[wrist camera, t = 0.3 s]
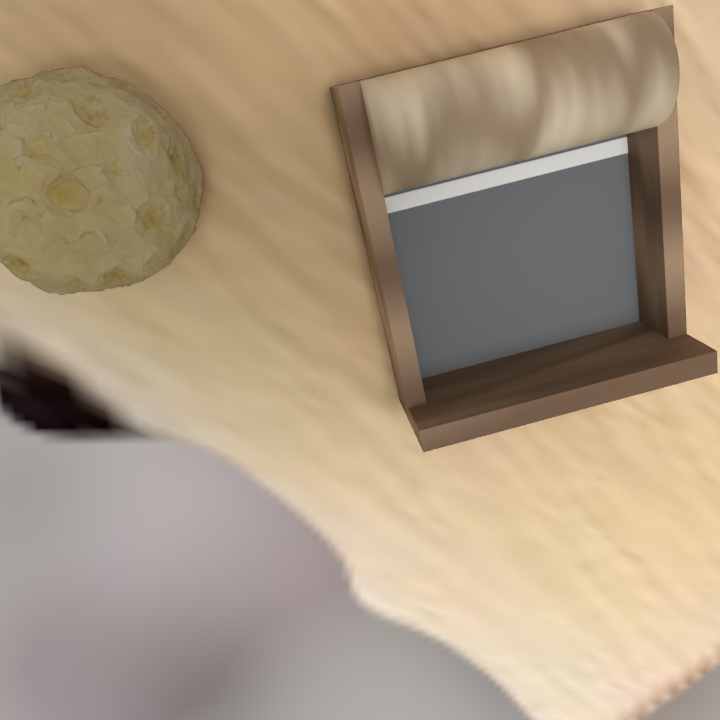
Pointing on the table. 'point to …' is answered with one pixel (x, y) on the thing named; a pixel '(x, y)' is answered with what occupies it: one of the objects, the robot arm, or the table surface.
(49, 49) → the table surface
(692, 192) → the table surface
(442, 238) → the mat
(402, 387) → the brown wooden tray
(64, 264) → the decorative item
